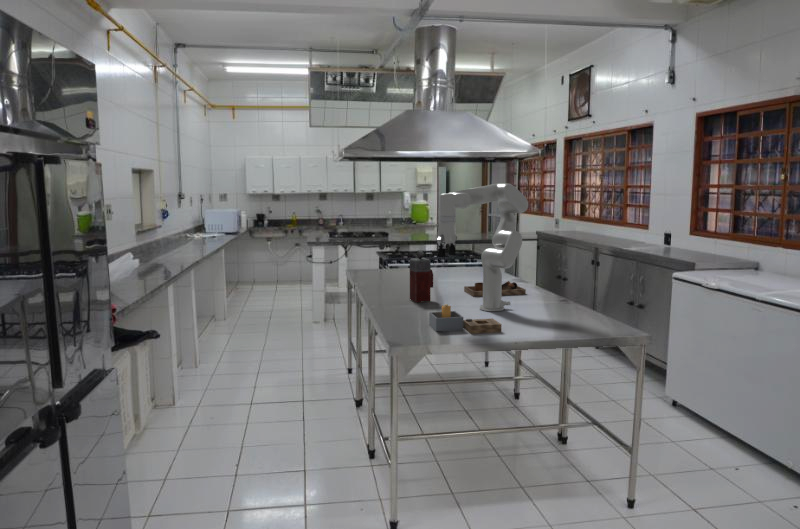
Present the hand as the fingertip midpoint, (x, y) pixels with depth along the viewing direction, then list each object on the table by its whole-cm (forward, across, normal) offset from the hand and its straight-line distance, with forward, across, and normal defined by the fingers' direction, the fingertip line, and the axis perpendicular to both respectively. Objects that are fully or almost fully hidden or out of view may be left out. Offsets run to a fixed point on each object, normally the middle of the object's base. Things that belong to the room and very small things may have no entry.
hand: (447, 255), depth 269 cm
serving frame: (+30, -71, -8) cm, 78 cm away
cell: (+30, +16, +9) cm, 35 cm away
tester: (+30, +11, +24) cm, 40 cm away
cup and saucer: (+31, -65, -14) cm, 73 cm away
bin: (+30, +17, +9) cm, 36 cm away
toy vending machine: (+31, -30, -32) cm, 54 cm away
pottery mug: (+31, -76, 0) cm, 82 cm away
